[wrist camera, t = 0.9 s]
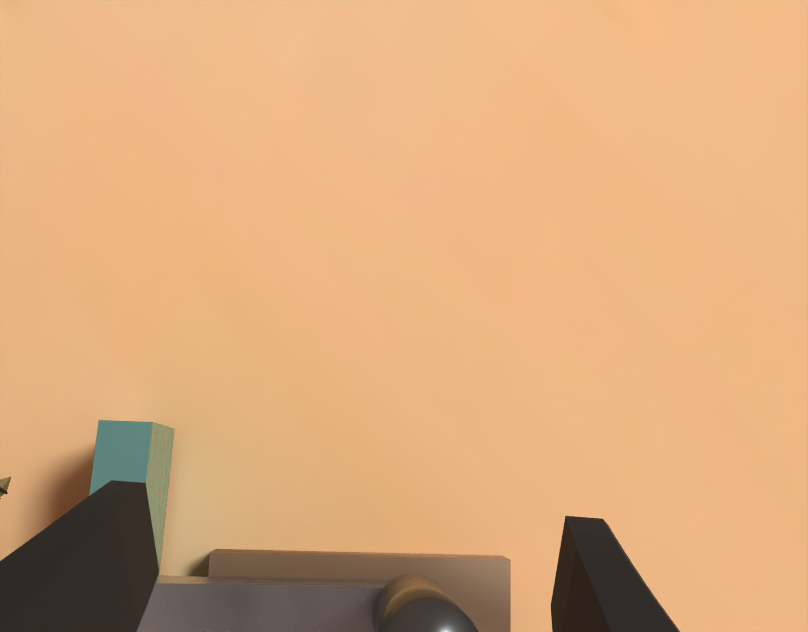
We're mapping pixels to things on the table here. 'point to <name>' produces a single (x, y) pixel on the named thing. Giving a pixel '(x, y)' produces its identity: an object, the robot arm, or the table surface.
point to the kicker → (259, 597)
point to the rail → (387, 575)
